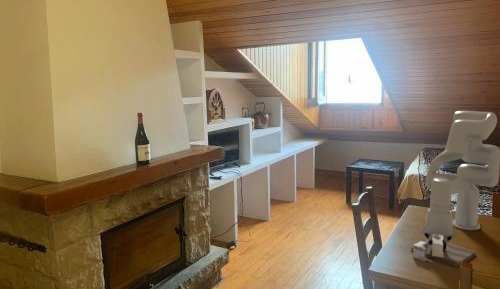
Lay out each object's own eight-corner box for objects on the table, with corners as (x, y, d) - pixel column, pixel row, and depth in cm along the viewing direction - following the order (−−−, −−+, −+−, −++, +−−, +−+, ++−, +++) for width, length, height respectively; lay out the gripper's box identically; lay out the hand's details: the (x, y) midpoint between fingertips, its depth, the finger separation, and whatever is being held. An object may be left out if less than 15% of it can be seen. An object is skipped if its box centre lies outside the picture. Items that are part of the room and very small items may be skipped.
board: (431, 240, 175) (431, 237, 175) (475, 254, 160) (475, 251, 160) (411, 250, 165) (411, 247, 165) (456, 267, 150) (456, 264, 150)
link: (429, 242, 169) (429, 234, 168) (442, 244, 167) (442, 235, 166) (430, 255, 157) (431, 246, 156) (444, 257, 155) (445, 248, 154)
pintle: (434, 245, 167) (435, 232, 166) (439, 246, 165) (440, 233, 164) (432, 246, 166) (433, 233, 165) (436, 247, 164) (437, 234, 163)
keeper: (420, 252, 163) (421, 240, 162) (431, 257, 159) (432, 244, 158) (412, 257, 159) (413, 244, 158) (424, 261, 156) (425, 248, 155)
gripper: (461, 207, 158) (458, 248, 161) (417, 202, 164) (415, 242, 168) (464, 213, 151) (460, 256, 155) (418, 208, 158) (415, 250, 161)
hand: (436, 248), depth 161 cm, fingers closed on link, 4 cm apart
